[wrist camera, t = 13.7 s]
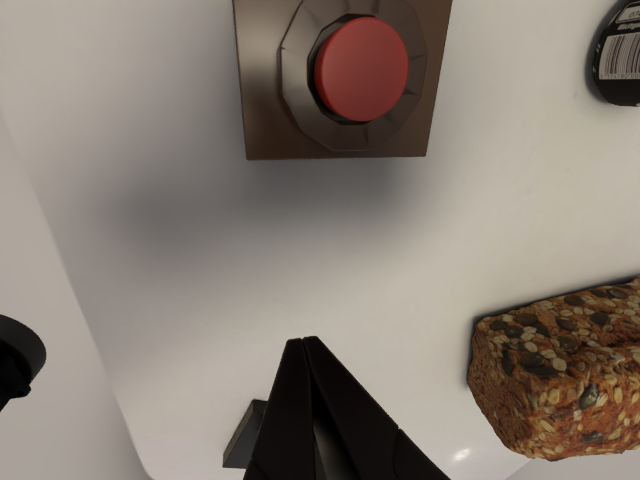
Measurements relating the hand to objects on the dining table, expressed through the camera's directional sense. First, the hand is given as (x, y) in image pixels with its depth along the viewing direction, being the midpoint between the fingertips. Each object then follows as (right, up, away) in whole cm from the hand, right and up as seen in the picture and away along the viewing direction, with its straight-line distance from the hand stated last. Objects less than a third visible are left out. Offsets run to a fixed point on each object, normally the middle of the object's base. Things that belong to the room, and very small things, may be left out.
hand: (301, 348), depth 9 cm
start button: (+2, +10, +5) cm, 12 cm away
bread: (+23, -6, +22) cm, 33 cm away
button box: (+1, +12, +8) cm, 14 cm away
